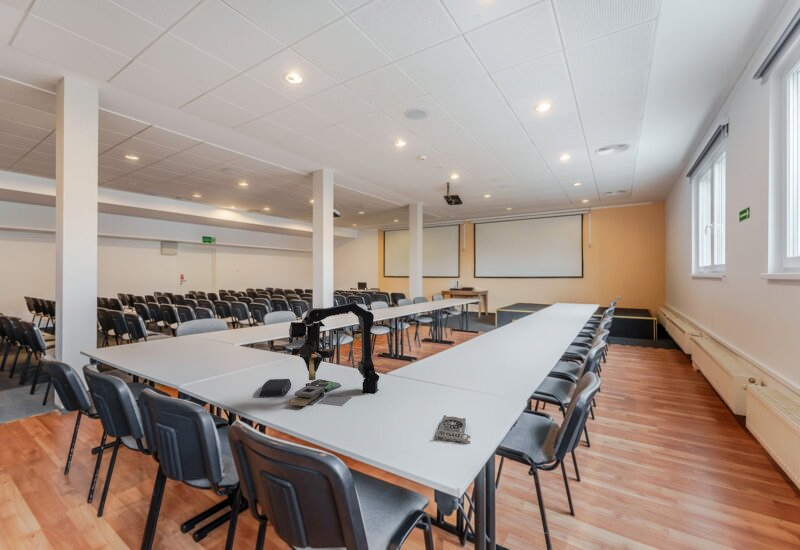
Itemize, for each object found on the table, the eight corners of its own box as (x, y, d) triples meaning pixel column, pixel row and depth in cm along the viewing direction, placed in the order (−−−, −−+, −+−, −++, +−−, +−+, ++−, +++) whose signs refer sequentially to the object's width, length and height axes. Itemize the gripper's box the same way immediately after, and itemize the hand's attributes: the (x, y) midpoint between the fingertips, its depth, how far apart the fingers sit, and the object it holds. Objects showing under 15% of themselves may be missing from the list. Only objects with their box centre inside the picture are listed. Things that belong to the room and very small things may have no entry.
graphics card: (470, 435, 115) (434, 430, 118) (470, 447, 115) (434, 441, 118) (473, 416, 131) (442, 412, 135) (473, 426, 131) (441, 422, 135)
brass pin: (316, 378, 155) (317, 356, 156) (313, 380, 153) (314, 358, 153) (310, 378, 156) (311, 356, 156) (307, 380, 153) (308, 357, 153)
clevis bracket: (307, 396, 162) (307, 385, 162) (324, 397, 159) (324, 387, 159) (287, 408, 146) (287, 396, 146) (305, 410, 144) (305, 398, 144)
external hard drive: (255, 399, 158) (256, 390, 158) (266, 386, 178) (267, 378, 178) (285, 398, 160) (285, 389, 160) (293, 385, 179) (293, 377, 179)
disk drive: (305, 389, 173) (327, 394, 165) (305, 384, 173) (327, 388, 166) (319, 384, 182) (341, 388, 174) (319, 378, 182) (341, 382, 175)
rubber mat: (352, 397, 160) (352, 396, 160) (341, 407, 148) (341, 406, 148) (329, 395, 163) (329, 394, 163) (316, 404, 151) (316, 403, 151)
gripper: (284, 337, 149) (283, 374, 149) (323, 340, 145) (322, 378, 144) (298, 334, 160) (297, 367, 160) (335, 336, 155) (334, 371, 155)
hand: (312, 371), depth 154 cm, fingers closed on brass pin, 3 cm apart
